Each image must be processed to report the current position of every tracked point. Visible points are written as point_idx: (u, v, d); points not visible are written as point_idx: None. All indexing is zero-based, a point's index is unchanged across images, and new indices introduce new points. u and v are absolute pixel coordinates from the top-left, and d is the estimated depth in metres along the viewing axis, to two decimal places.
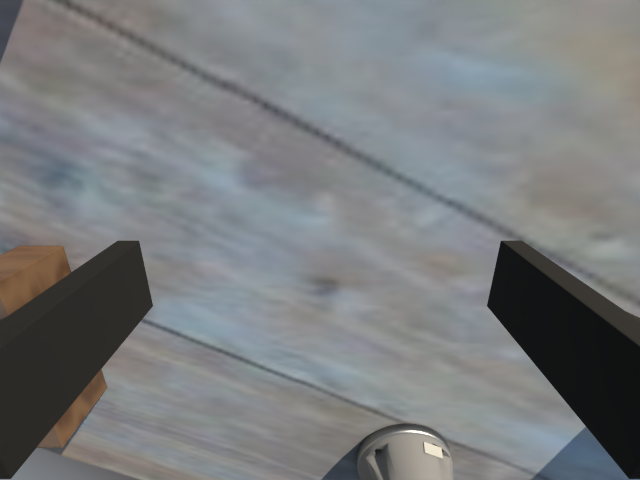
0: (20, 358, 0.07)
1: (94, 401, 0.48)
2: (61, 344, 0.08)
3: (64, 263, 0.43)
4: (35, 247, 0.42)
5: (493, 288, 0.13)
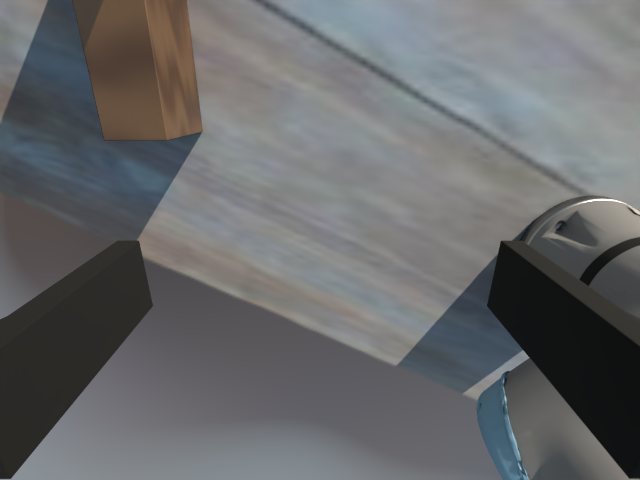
0: (20, 358, 0.07)
1: (192, 128, 0.35)
2: (61, 344, 0.08)
3: None
4: None
5: (493, 288, 0.13)
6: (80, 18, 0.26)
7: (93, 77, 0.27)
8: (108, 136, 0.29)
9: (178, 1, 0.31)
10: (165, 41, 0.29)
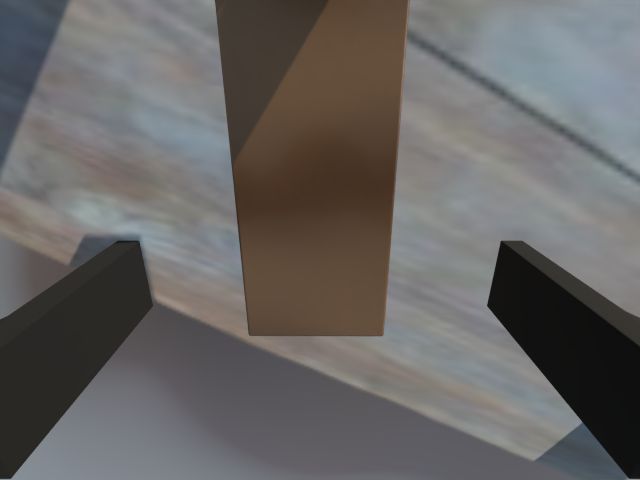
0: (20, 358, 0.07)
1: None
2: (61, 344, 0.08)
3: None
4: None
5: (493, 288, 0.13)
6: (234, 96, 0.10)
7: (245, 222, 0.12)
8: (259, 330, 0.14)
9: None
10: None
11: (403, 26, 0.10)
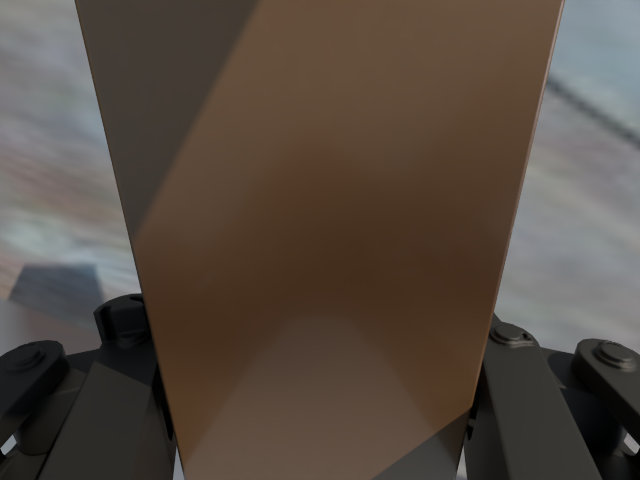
0: None
1: None
2: None
3: None
4: None
5: None
6: (118, 79, 0.04)
7: (172, 353, 0.06)
8: None
9: None
10: None
11: None
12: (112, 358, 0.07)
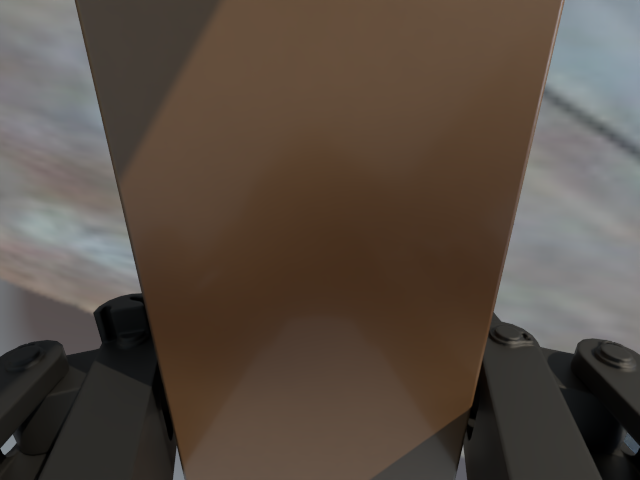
0: None
1: None
2: None
3: None
4: None
5: None
6: (118, 79, 0.04)
7: (172, 352, 0.06)
8: None
9: None
10: None
11: None
12: (112, 358, 0.07)
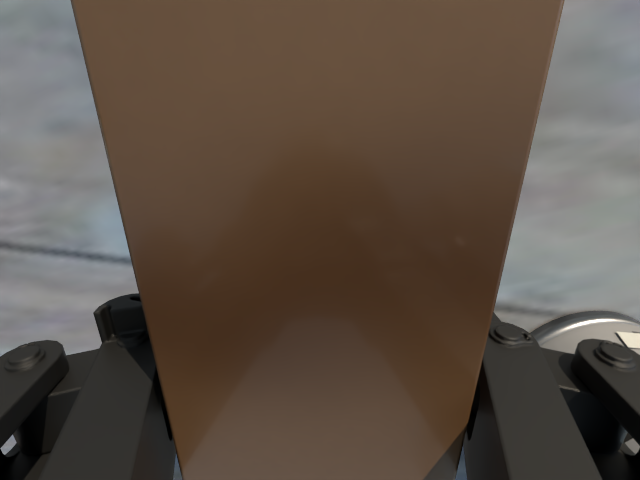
0: None
1: None
2: None
3: None
4: None
5: None
6: (113, 76, 0.04)
7: (170, 352, 0.06)
8: None
9: None
10: None
11: None
12: (112, 358, 0.07)
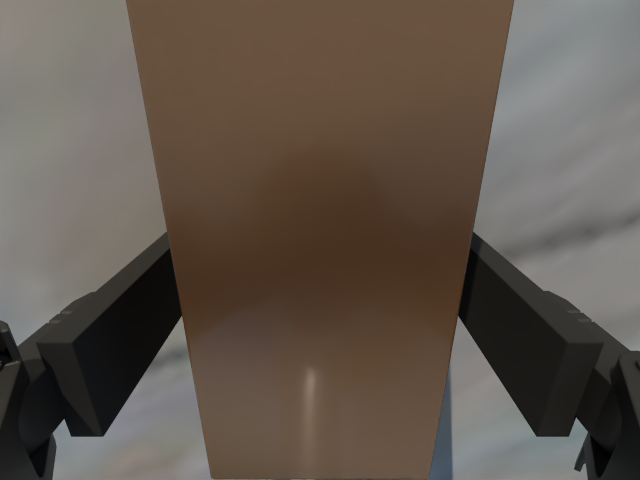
0: (109, 330, 0.08)
1: None
2: (135, 321, 0.09)
3: None
4: None
5: None
6: (161, 86, 0.05)
7: (196, 314, 0.07)
8: (228, 472, 0.08)
9: None
10: None
11: None
12: None
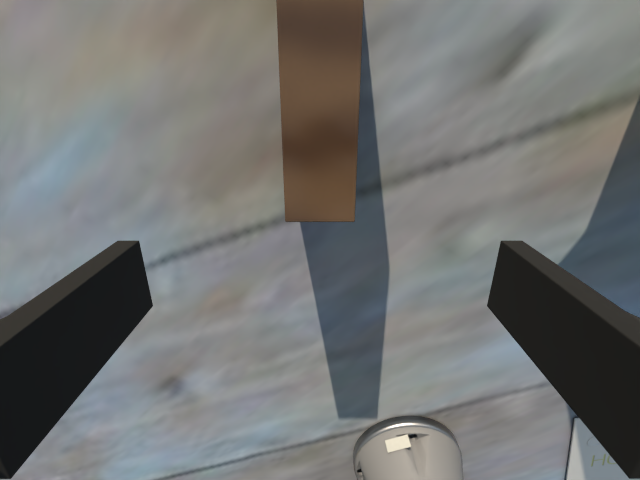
0: (20, 358, 0.07)
1: None
2: (61, 344, 0.08)
3: None
4: None
5: (493, 288, 0.13)
6: (285, 99, 0.24)
7: (287, 158, 0.25)
8: (291, 218, 0.27)
9: None
10: None
11: (358, 69, 0.23)
12: None
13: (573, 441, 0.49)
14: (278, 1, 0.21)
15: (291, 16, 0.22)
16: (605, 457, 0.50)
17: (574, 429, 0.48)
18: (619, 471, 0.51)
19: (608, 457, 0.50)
